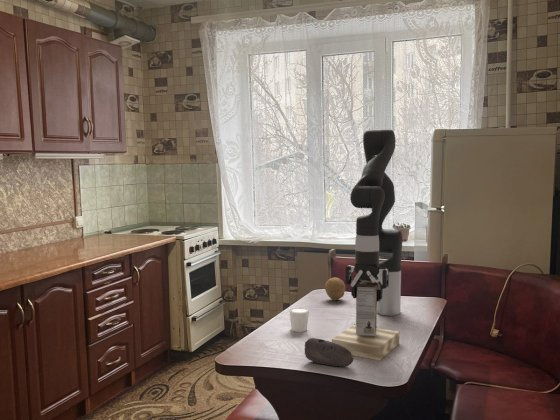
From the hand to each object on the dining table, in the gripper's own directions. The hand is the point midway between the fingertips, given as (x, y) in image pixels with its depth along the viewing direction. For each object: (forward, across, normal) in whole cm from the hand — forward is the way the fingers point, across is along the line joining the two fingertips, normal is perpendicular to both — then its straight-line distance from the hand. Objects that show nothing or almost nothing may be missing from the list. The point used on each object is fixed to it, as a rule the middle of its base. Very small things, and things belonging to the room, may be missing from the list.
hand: (366, 299), depth 178 cm
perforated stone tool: (+16, +4, +20) cm, 26 cm away
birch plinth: (+16, 0, 0) cm, 16 cm away
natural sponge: (+16, +35, -51) cm, 64 cm away
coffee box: (+11, 0, 0) cm, 11 cm away
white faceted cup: (+16, +28, -6) cm, 33 cm away
